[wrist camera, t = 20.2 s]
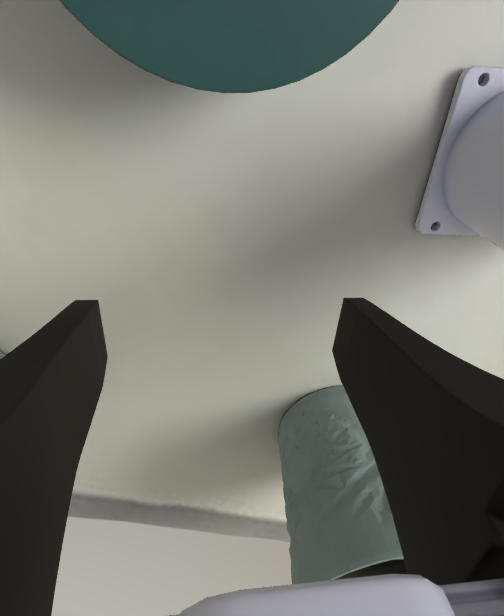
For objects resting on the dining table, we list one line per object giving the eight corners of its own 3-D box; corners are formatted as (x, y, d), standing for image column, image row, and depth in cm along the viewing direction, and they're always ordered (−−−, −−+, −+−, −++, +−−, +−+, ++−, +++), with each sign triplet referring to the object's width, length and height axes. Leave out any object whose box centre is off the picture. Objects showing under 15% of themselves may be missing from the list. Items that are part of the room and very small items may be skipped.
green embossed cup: (394, 450, 34) (477, 620, 24) (277, 478, 34) (310, 658, 24) (391, 362, 28) (498, 537, 18) (251, 396, 28) (280, 587, 18)
